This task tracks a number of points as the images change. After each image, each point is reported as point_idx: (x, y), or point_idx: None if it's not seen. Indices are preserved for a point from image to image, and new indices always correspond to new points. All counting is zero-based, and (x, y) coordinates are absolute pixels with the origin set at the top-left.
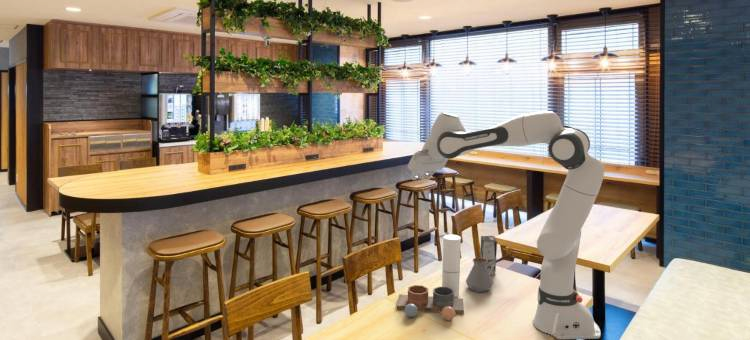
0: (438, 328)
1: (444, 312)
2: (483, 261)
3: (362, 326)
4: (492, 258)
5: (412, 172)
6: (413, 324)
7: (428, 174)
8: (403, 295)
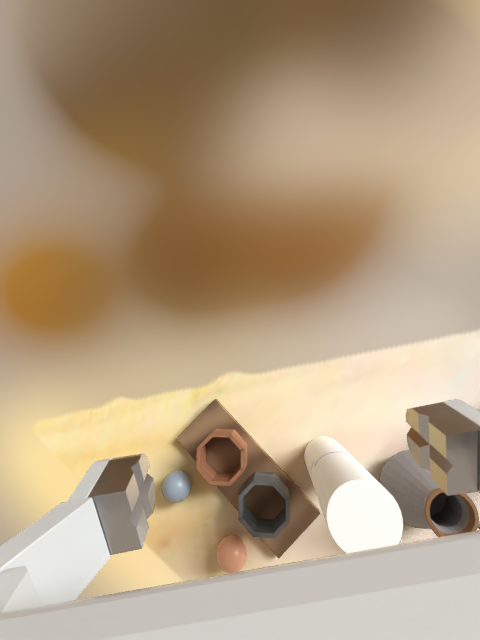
0: (191, 559)
1: (217, 557)
2: (466, 509)
3: (87, 450)
4: None
5: (3, 560)
6: (163, 510)
7: (460, 462)
8: (218, 409)
